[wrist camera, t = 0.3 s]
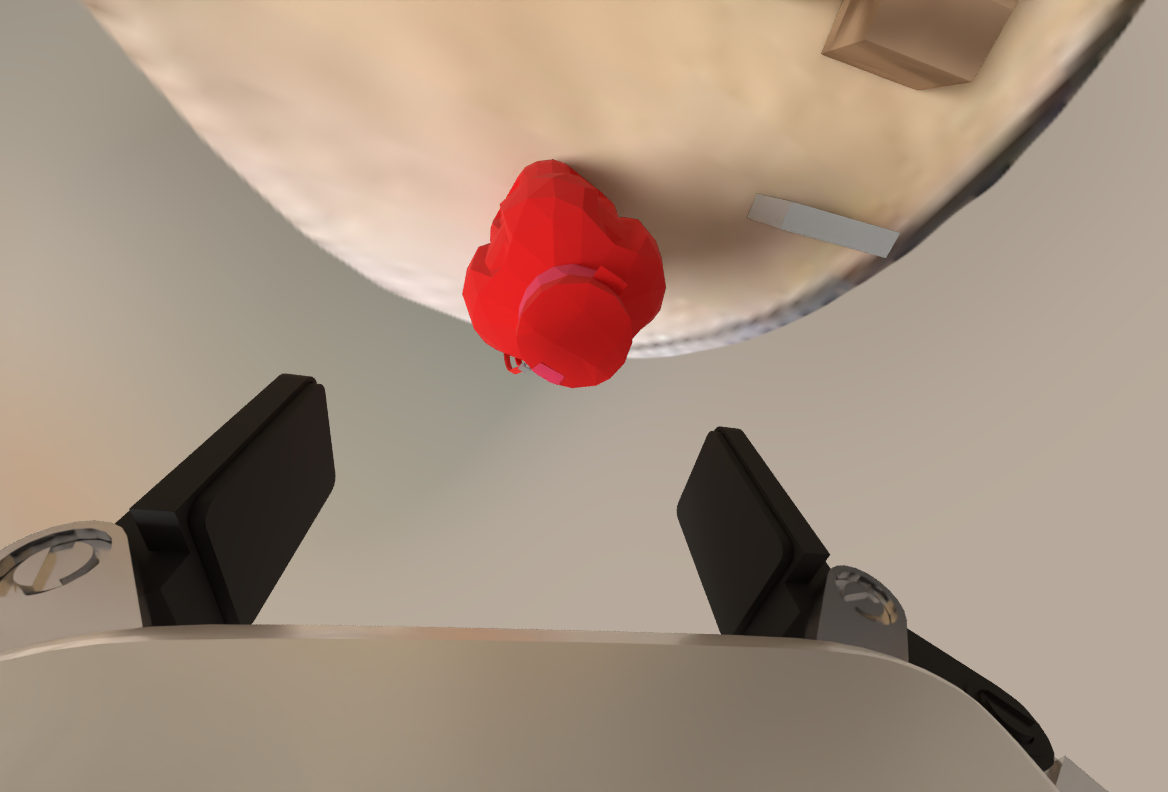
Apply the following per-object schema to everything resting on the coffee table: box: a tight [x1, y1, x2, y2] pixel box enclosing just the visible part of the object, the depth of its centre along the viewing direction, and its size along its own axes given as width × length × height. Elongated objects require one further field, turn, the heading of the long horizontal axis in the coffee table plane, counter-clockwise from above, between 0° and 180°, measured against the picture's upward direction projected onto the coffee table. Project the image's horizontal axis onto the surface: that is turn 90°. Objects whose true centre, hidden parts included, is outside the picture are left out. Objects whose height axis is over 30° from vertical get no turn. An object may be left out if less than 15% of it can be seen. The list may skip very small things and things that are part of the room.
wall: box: [747, 194, 900, 258], centre depth 35 cm, size 2×10×6 cm, turn 77°
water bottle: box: [462, 159, 666, 388], centre depth 26 cm, size 9×11×25 cm
